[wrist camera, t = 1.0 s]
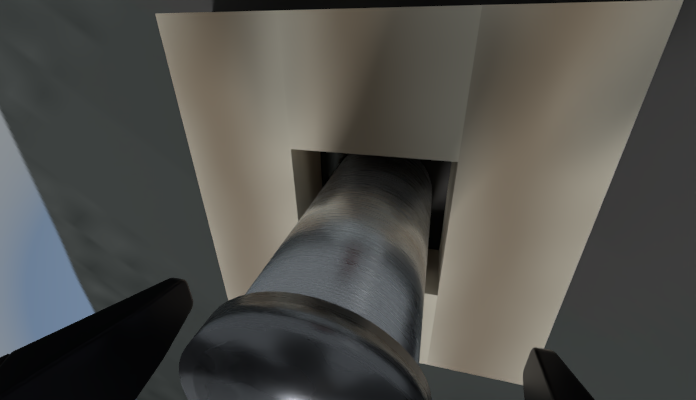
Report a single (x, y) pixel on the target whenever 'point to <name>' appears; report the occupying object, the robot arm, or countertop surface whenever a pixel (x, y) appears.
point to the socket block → (424, 140)
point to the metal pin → (330, 299)
